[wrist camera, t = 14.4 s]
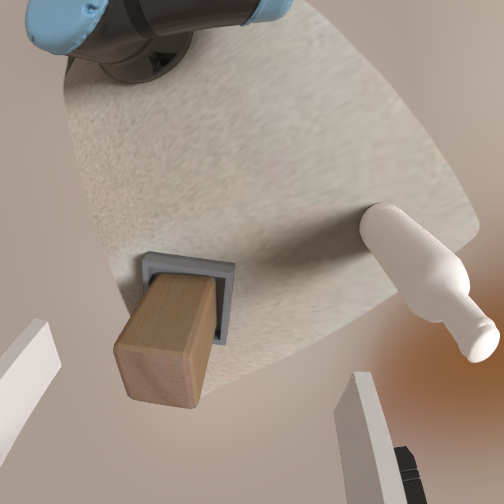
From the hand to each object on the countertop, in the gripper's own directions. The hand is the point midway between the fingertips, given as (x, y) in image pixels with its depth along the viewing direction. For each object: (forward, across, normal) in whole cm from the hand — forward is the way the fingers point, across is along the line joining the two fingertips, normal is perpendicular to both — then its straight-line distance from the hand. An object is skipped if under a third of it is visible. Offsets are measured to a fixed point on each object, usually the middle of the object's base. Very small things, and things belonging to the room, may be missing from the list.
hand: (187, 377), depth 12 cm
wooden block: (+36, -8, -20) cm, 42 cm away
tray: (+37, -8, -20) cm, 42 cm away
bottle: (+37, +22, -3) cm, 43 cm away
